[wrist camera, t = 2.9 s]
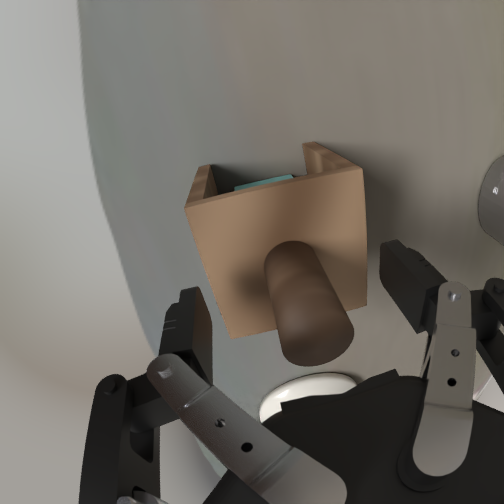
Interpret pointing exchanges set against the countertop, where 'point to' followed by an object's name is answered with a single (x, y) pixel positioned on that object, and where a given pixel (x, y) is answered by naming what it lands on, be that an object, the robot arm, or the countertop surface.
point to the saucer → (304, 390)
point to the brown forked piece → (287, 254)
